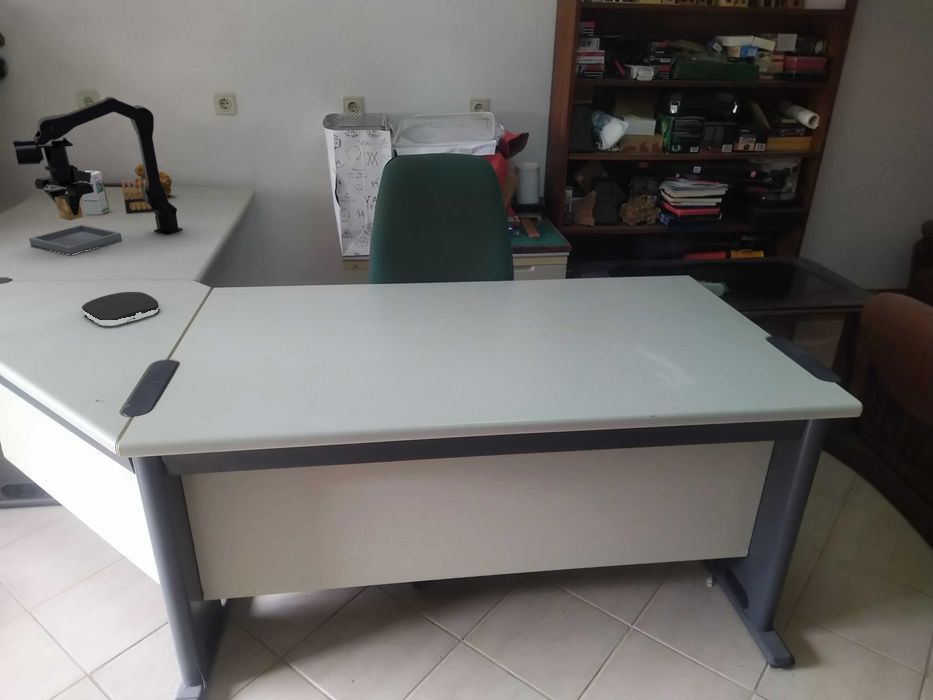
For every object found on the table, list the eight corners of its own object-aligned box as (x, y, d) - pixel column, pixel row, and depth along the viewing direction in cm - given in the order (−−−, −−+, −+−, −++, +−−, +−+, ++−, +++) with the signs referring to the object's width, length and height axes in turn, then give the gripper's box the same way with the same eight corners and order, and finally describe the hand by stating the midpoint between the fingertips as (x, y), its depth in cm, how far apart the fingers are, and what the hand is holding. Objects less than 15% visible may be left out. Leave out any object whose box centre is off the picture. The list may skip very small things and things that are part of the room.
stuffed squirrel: (137, 194, 262) (131, 161, 256) (175, 193, 267) (170, 160, 261) (135, 201, 254) (128, 166, 248) (174, 199, 258) (168, 165, 252)
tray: (122, 240, 211) (120, 232, 210) (70, 255, 196) (68, 247, 195) (83, 231, 217) (81, 224, 216) (30, 246, 203) (28, 238, 201)
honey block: (83, 217, 204) (78, 196, 201) (69, 220, 200) (64, 199, 197) (73, 214, 206) (68, 194, 203) (59, 218, 202) (54, 197, 199)
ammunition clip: (126, 213, 238) (119, 180, 233) (126, 212, 240) (119, 179, 234) (158, 211, 242) (152, 178, 237) (158, 210, 243) (152, 177, 238)
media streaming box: (137, 297, 171) (134, 286, 170) (165, 313, 163) (163, 302, 162) (78, 313, 161) (75, 302, 159) (105, 331, 153) (103, 319, 151)
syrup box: (102, 215, 235) (93, 174, 229) (85, 214, 235) (76, 173, 229) (110, 210, 240) (101, 170, 234) (94, 210, 240) (85, 170, 234)
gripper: (103, 161, 199) (114, 212, 206) (62, 154, 205) (73, 204, 212) (70, 167, 189) (82, 220, 197) (27, 160, 196) (41, 211, 203)
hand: (70, 213), depth 202 cm, fingers closed on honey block, 4 cm apart
